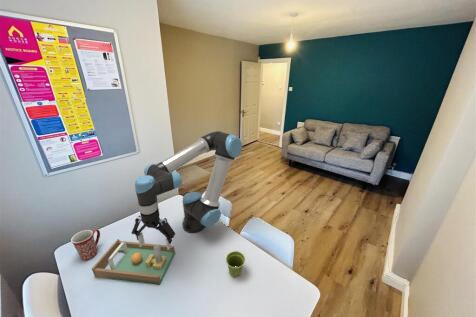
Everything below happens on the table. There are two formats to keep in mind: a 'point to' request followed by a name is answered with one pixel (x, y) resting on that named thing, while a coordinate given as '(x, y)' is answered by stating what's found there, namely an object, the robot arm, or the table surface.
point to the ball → (136, 258)
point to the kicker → (156, 258)
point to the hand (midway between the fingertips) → (155, 246)
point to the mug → (86, 243)
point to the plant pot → (235, 263)
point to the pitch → (129, 269)
